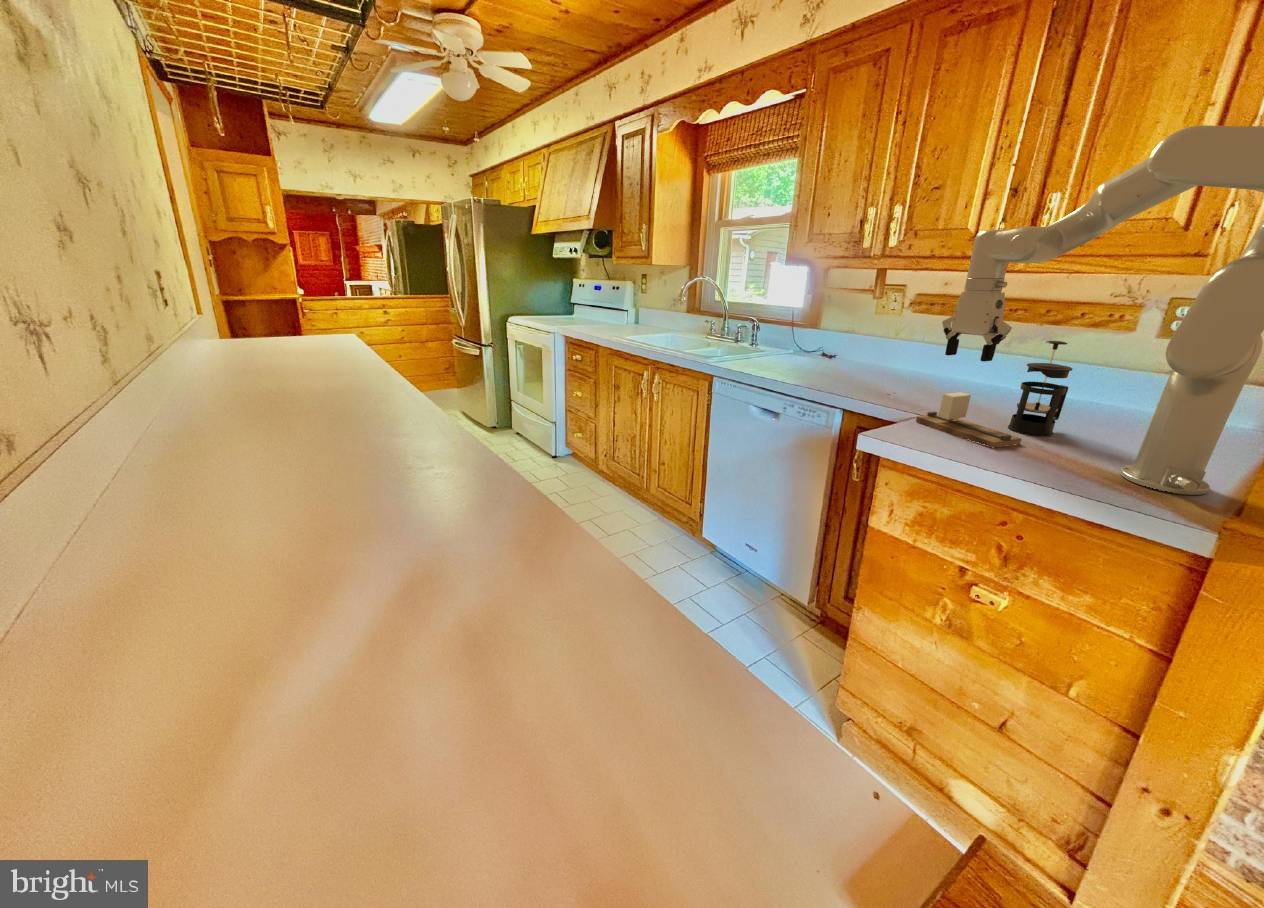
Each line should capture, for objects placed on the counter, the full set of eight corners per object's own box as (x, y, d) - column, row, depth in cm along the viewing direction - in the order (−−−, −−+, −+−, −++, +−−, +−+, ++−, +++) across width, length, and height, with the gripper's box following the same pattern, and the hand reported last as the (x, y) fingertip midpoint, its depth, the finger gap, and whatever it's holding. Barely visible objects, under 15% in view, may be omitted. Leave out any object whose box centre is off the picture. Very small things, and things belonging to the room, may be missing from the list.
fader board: (1019, 444, 121) (1022, 434, 120) (992, 448, 118) (995, 438, 117) (940, 418, 140) (942, 410, 139) (915, 421, 138) (917, 413, 137)
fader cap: (964, 420, 132) (970, 394, 130) (947, 422, 130) (953, 396, 128) (954, 416, 135) (960, 392, 132) (937, 419, 133) (943, 394, 130)
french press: (1026, 437, 126) (1054, 344, 117) (996, 425, 134) (1020, 338, 126) (1068, 435, 127) (1099, 343, 119) (1036, 424, 136) (1062, 337, 127)
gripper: (1031, 287, 114) (1012, 362, 120) (962, 285, 129) (948, 352, 135) (1008, 287, 111) (989, 364, 117) (940, 285, 127) (927, 353, 133)
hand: (967, 357), depth 126 cm, fingers open, 9 cm apart
